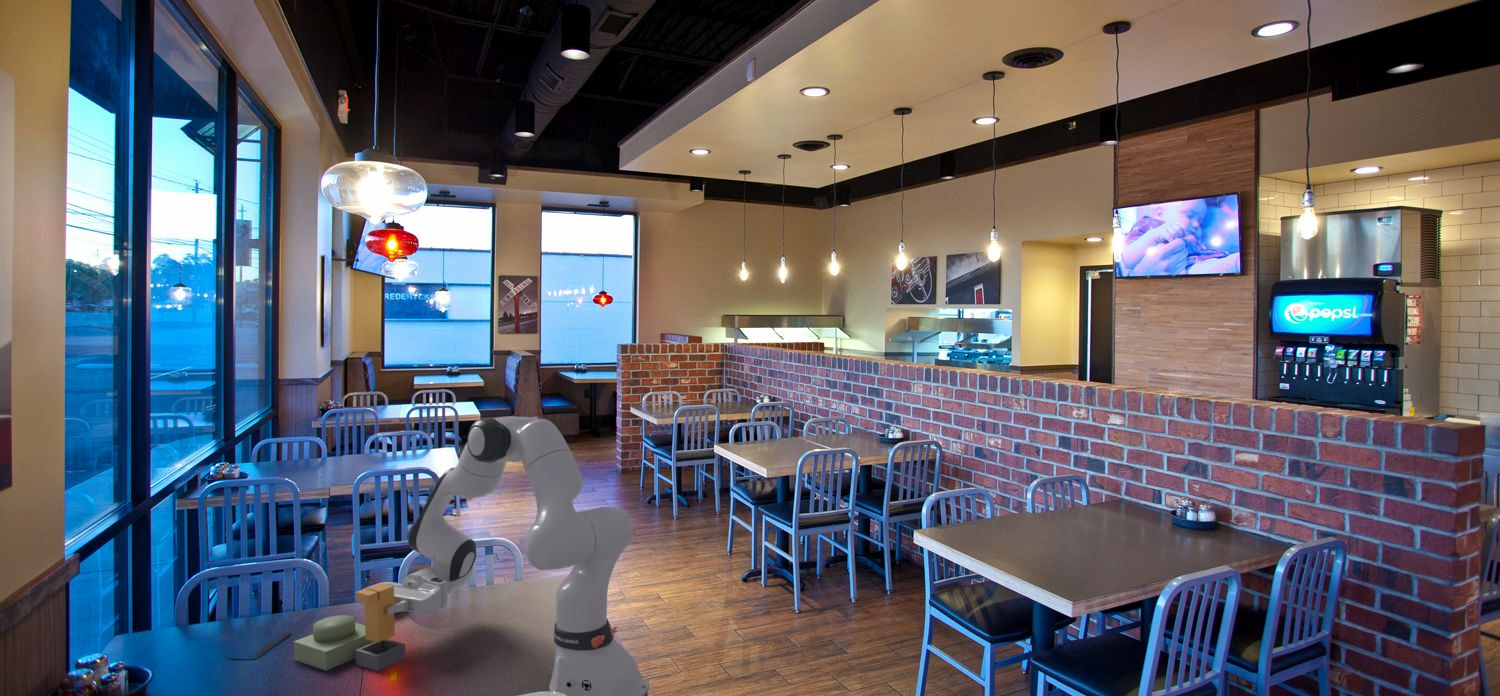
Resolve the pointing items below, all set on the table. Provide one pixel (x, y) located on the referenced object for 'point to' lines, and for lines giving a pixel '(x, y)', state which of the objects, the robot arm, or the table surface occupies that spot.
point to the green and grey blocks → (345, 646)
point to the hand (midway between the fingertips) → (376, 609)
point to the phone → (269, 645)
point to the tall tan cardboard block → (377, 611)
